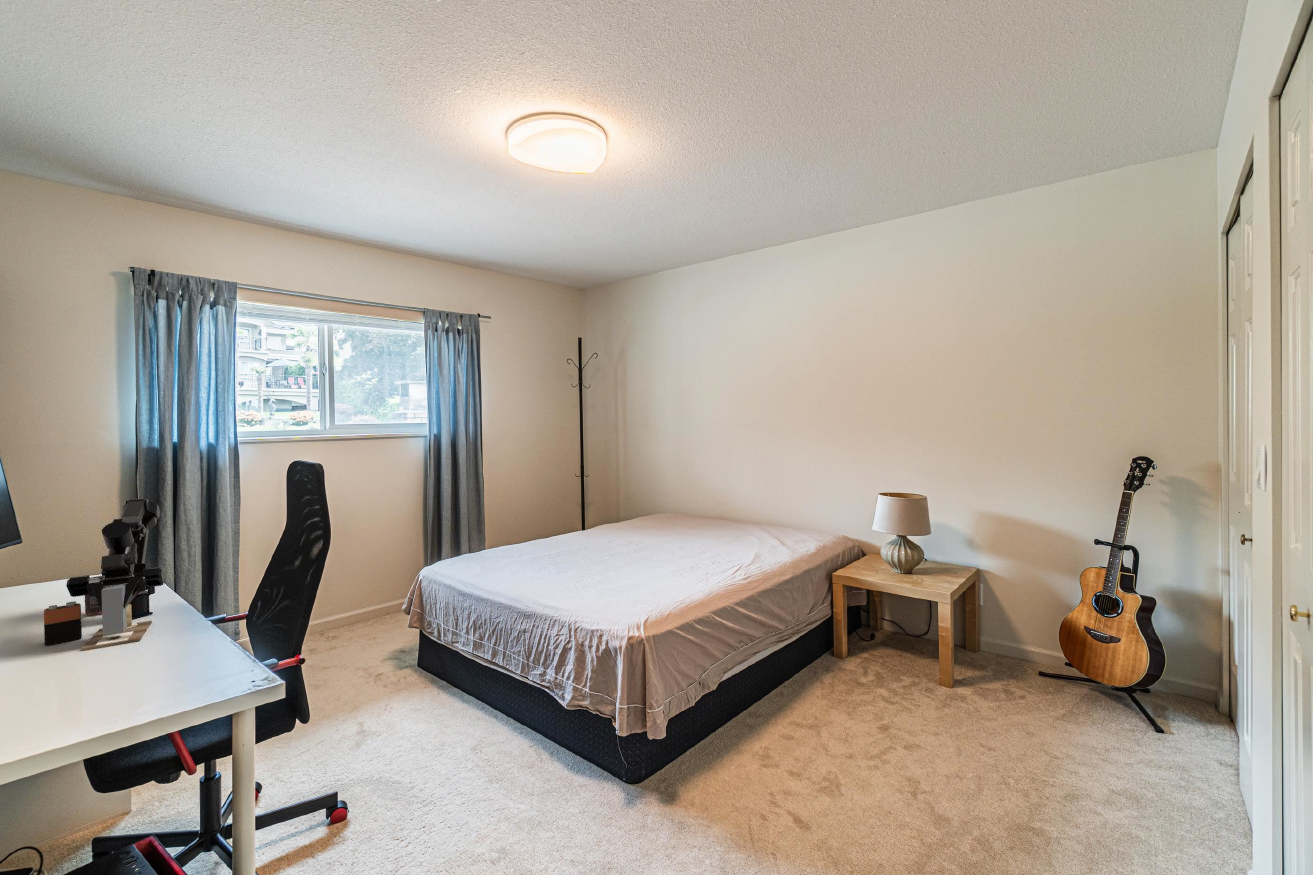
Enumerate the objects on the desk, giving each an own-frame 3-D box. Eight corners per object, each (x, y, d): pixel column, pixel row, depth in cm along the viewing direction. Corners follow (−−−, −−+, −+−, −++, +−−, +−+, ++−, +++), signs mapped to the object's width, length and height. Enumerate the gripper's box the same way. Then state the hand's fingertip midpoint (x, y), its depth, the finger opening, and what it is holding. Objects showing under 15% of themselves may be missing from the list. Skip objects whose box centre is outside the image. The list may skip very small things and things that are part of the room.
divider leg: (106, 631, 150) (105, 586, 150) (126, 628, 152) (125, 584, 152) (102, 635, 147) (101, 590, 146) (123, 632, 149) (122, 587, 149)
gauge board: (99, 630, 158) (99, 607, 158) (152, 622, 164) (151, 599, 164) (81, 650, 143) (80, 624, 142) (139, 641, 149) (138, 616, 149)
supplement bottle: (115, 612, 175) (114, 575, 175) (88, 617, 170) (87, 580, 170) (108, 609, 178) (107, 573, 178) (82, 614, 173) (81, 577, 173)
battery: (81, 639, 151) (80, 602, 151) (44, 646, 146) (43, 608, 146) (81, 635, 154) (80, 599, 154) (44, 642, 149) (43, 605, 149)
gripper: (67, 546, 147) (55, 598, 138) (161, 538, 158) (155, 586, 149) (76, 570, 154) (65, 621, 145) (166, 561, 164) (161, 608, 155)
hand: (113, 608), depth 148 cm, fingers closed on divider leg, 4 cm apart
